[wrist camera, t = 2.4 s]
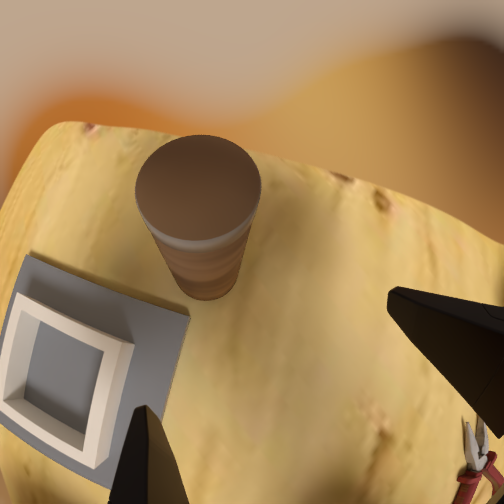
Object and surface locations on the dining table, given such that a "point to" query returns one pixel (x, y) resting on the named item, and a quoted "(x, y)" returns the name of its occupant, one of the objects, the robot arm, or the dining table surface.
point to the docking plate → (82, 366)
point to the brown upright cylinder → (200, 210)
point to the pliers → (477, 464)
